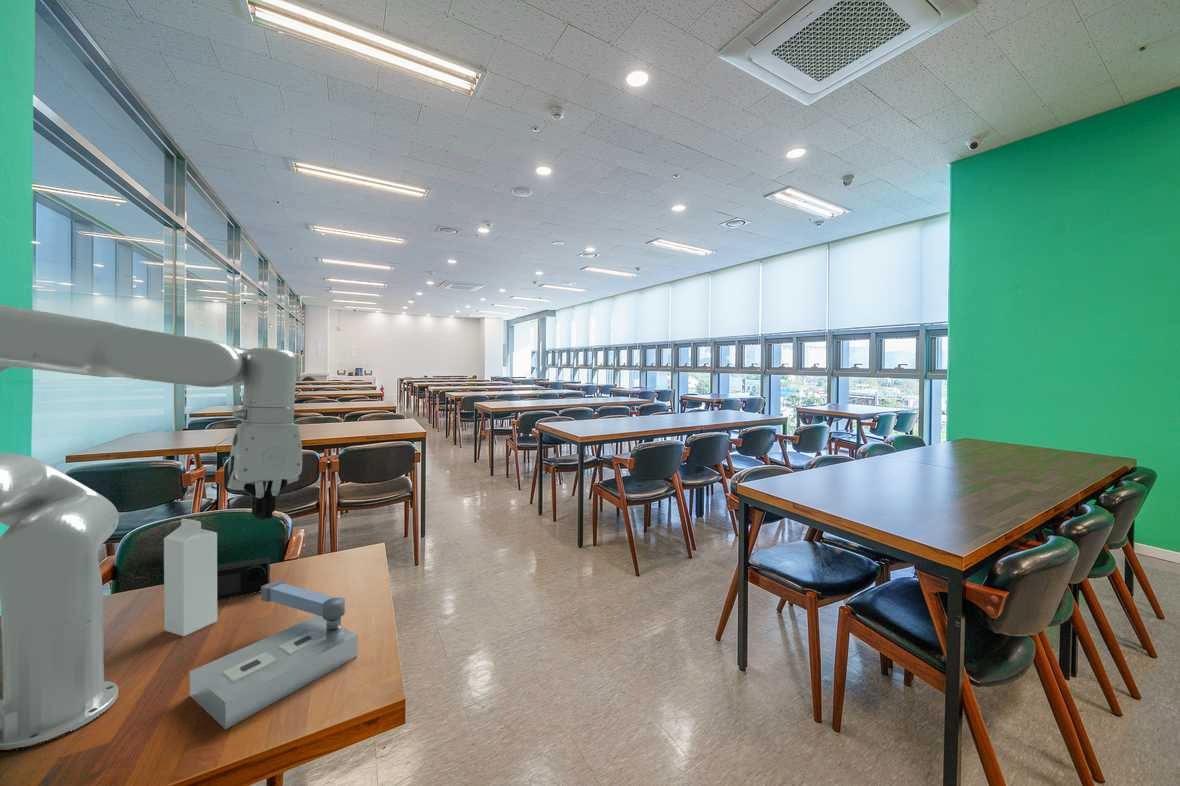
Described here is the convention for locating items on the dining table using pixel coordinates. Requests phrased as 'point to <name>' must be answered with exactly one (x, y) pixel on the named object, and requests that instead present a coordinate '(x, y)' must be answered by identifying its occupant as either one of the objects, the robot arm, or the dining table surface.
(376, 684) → the dining table surface
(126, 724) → the dining table surface
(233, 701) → the plate
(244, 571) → the digital camera
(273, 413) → the robot arm
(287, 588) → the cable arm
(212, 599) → the milk
